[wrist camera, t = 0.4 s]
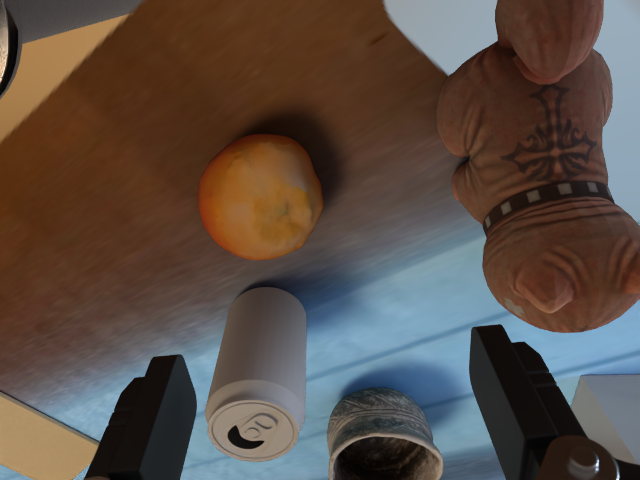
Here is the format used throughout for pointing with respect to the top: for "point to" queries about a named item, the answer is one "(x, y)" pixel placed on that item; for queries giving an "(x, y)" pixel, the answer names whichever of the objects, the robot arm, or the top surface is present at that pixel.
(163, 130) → the top surface
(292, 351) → the beverage can
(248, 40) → the top surface
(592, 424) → the soap dispenser
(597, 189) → the figurine
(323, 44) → the top surface
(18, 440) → the board
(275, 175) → the fruit
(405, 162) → the top surface
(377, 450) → the mug
